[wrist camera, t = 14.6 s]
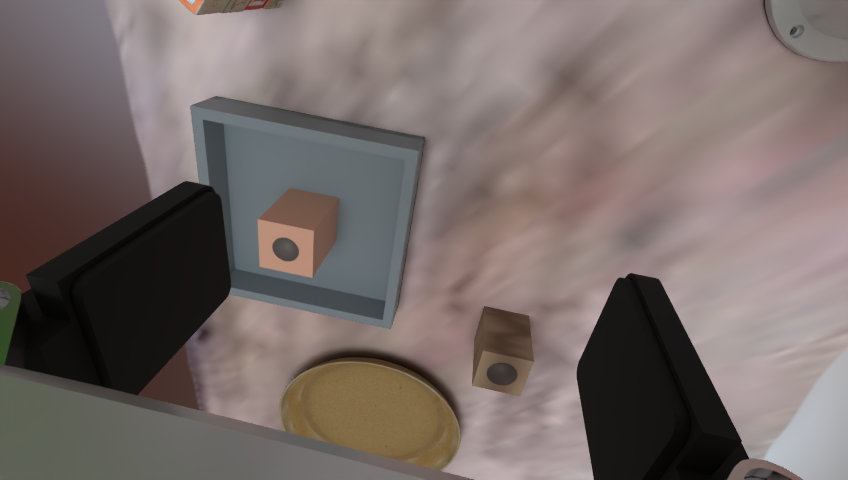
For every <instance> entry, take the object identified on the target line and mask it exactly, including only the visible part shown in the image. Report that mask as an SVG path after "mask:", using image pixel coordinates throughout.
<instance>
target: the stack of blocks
mask: <svg viewBox="0 0 848 480" xmlns="http://www.w3.org/2000/svg"><path fill="white" fill-rule="evenodd" d="M179 1H180V2H181V3H182V4H183V5H184V6H185V7H187V8H188V9H189V10H190V11H191V12H192V13H193V14H194V15H202V14H212V13H219V12H220V13H227V12H229V13H231V12H241V11H244V10H252V9H260V8H263V9H271V8H278V7H280V6H281V4H282V3H283V2H284V0H179Z"/></svg>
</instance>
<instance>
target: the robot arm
mask: <svg viewBox="0 0 848 480" xmlns="http://www.w3.org/2000/svg"><path fill="white" fill-rule="evenodd" d="M765 9H766V13H767V17H768V21H769V24H770V26H771V28H772V30H773V31H774V33H775V35H776V37H777V38H778V39H779V40H780V41H781V42H782V43H783V44H784V45H785V46H786V47H787V48H789V49H790V50H792V51H794V52H795V53H797V54H799V55H801V56H804V57H808V58H811V59H814V60H821V61H827V62H848V0H765ZM792 28H793V31H792V32H791V33H790V31H791V29H792ZM26 276H27V279H28V281H29V283H30V286H31V289H30V290H28V291H26V292H25V293H23V294H22V292H21V290H19V289H18V288H17V287H16V286H15V285H12V284H9V283H6V282H0V480H473V479H470V478H466V477H462V476H458V475H454V474H450V473H446V472H442V471H438V470H434V469H430V468H427V467H423V466H419V465H415V464H411V463H407V462H403V461H399V460H395V459H391V458H387V457H384V456H380V455H376V454H372V453H368V452H364V451H360V450H356V449H352V448H348V447H344V446H340V445H336V444H332V443H328V442H324V441H320V440H316V439H312V438H308V437H304V436H300V435H296V434H292V433H288V432H284V431H280V430H276V429H272V428H268V427H264V426H260V425H256V424H252V423H248V422H244V421H240V420H236V419H232V418H228V417H224V416H220V415H215V414H211V413H207V412H203V411H199V410H195V409H191V408H187V407H182V406H179V405H174V404H170V403H166V402H162V401H158V400H154V399H150V398H146V397H142V396H138V394H139V393H140V392H141V391H142V390H143V388H144V387H145V386H146V385H147V384H148V383H149V382H150V381H151V380H152V379H153V378H154V376H155V375H156V374H157V373H158V372H159V371H160V370H161V369H162V368H163V367H164V366H165V365H166V363H167V362H168V361H169V360H170V359H171V358H172V357H173V356H174V355H175V354H176V353H177V351H178V350H179V349H180V348H181V347H182V346H183V345H184V344H185V343H186V342H187V341H188V339H189V338H190V337H191V336H192V335H193V334H194V333H195V332H196V331H197V330H198V329H199V328H200V326H201V325H202V324H203V323H204V322H205V321H206V320H207V319H208V318H209V317H210V316H211V314H212V313H213V312H214V311H215V310H216V309H217V308H218V307H219V306H220V305H221V304H222V302H223V301H224V300H225V299H226V298H227V297H228V295H229V293H230V290H231V277H230V269H229V260H228V252H227V243H226V235H225V226H224V218H223V209H222V201H221V197H220V195H219V194H217V193H216V192H215V190H214V188H213V187H211V186H208V185H203V184H198V183H194V182H188V181H185V182H183V183H181V184H179V185H177V186H176V187H174V188H172V189H171V190H169V191H167V192H165V193H164V194H162V195H160V196H159V197H157V198H155V199H154V200H152V201H150V202H149V203H147V204H145V205H143V206H142V207H140V208H138V209H137V210H135V211H133V212H132V213H130V214H128V215H127V216H125V217H123V218H121V219H120V220H118V221H117V222H115V223H113V224H111V225H110V226H108V227H106V228H105V229H103V230H102V231H100V232H98V233H96V234H95V235H93V236H91V237H89V238H88V239H86V240H85V241H82V242H81V243H79V244H77V245H76V246H74V247H72V248H71V249H69V250H67V251H66V252H64V253H62V254H60V255H59V256H57V257H55V258H54V259H52V260H50V261H49V262H47V263H45V264H44V265H42V266H40V267H38V268H37V269H35V270H33V271H32V272H30V273H28V274H27V275H26ZM577 382H578V388H579V393H580V399H581V405H582V411H583V417H584V423H585V429H586V435H587V441H588V447H589V452H590V458H591V464H592V470H593V476H594V480H802V479H801V478H800V477H798V476H797V475H795V474H793V473H792V472H790V471H788V470H787V469H785V468H783V467H781V466H778V465H776V464H774V463H771V462H768V461H765V460H759V459H749V457H748V455H747V453H746V451H745V449H744V447H743V445H742V443H741V442H742V440H741V439H740V437H739V435H738V433H737V431H736V429H735V427H734V425H733V423H732V421H731V419H730V417H729V415H728V413H727V411H726V409H725V407H724V405H723V403H722V401H721V399H720V397H719V395H718V393H717V392H716V390H715V388H714V386H713V384H712V382H711V380H710V378H709V376H708V374H707V372H706V370H705V368H704V366H703V364H702V362H701V360H700V358H699V356H698V354H697V352H696V350H695V348H694V346H693V345H692V343H691V341H690V339H689V337H688V335H687V333H686V331H685V329H684V327H683V325H682V323H681V321H680V319H679V317H678V315H677V313H676V311H675V309H674V307H673V305H672V303H671V301H670V299H669V298H668V296H667V294H666V292H665V290H664V288H663V286H662V284H661V282H660V281H659V279H656V278H652V277H647V276H642V275H637V274H633V273H630V274H628V275H627V276H626V278H618V279H617V280H616V282H615V284H614V286H613V289H612V291H611V293H610V295H609V297H608V300H607V302H606V304H605V306H604V308H603V310H602V313H601V315H600V317H599V319H598V321H597V324H596V326H595V328H594V330H593V332H592V335H591V337H590V339H589V341H588V343H587V345H586V348H585V350H584V352H583V354H582V356H581V359H580V361H579V363H578V367H577Z"/></svg>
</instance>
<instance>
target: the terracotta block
mask: <svg viewBox="0 0 848 480" xmlns="http://www.w3.org/2000/svg"><path fill="white" fill-rule="evenodd" d="M338 204H339V198H337V197H332V196H328V195H323V194H318V193H313V192H308V191H303V190H298V189H293V188H290V189H289V190H288V191H287V192H285V193H284V194H283V195H282V196H281V197H280V198H279V199H278V200H277V201H276V202H275V203H274V204H273V205H272V206H271V207H270V208H269V209H268V210H267V211H266V212H265V213H263V214H262V215H261V216H260V217H259V218H258V240H259V262H260V267H263V268H268V269H273V270H277V271H282V272H287V273H292V274H296V275H301V276H306V277H310V278H313V276H314V275H315V273H316V272H317V270H318V268H319V267H320V265H321V264H322V262H323V261H324V259H325V257H326V256H327V254H328V253H329V251H330V250H331V248H332V246H333V245H334V243H335V242H336V237H337V220H338Z"/></svg>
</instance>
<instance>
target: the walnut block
mask: <svg viewBox="0 0 848 480" xmlns="http://www.w3.org/2000/svg"><path fill="white" fill-rule="evenodd" d="M533 362H534V359H533V350H532V341H531V332H530V324H529V316H527V315H523V314H518V313H513V312H509V311H504V310H499V309H495V308H490V307H485V306H484V309H483V312H482V316H481V319H480V322H479V326H478V329H477V333H476V336H475V340H474V359H473V378H472V386H476V387H481V388H486V389H490V390H495V391H499V392H504V393H508V394H513V395H517V396H520V395H521V392H522V390H523V387H524V385H525V382H526V380H527V377H528V375H529V372H530V370H531V367H532V365H533Z"/></svg>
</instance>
